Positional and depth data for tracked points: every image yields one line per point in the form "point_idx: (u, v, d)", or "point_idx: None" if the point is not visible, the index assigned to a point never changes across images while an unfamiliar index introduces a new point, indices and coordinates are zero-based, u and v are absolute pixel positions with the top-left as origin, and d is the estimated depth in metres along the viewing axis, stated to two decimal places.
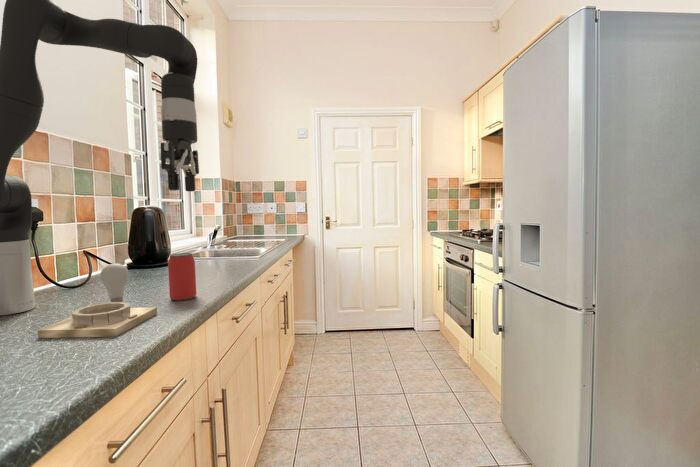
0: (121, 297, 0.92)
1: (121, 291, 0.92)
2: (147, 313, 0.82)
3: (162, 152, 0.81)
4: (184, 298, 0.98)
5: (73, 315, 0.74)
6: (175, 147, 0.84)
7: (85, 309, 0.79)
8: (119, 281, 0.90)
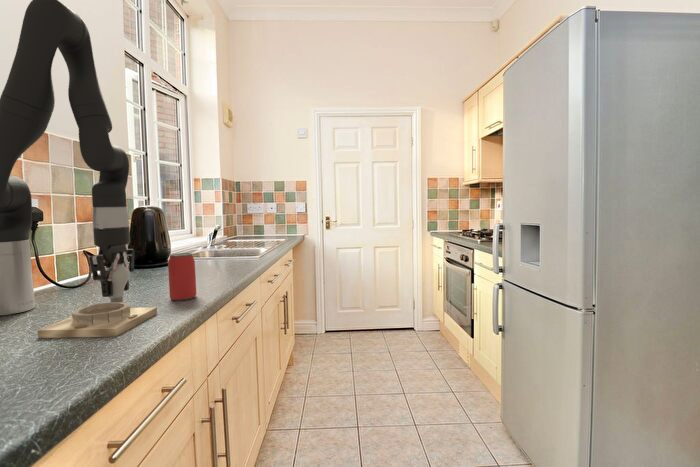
0: (121, 297, 0.92)
1: (121, 291, 0.92)
2: (147, 313, 0.82)
3: (92, 266, 0.85)
4: (184, 298, 0.98)
5: (73, 315, 0.74)
6: (105, 256, 0.88)
7: (85, 309, 0.79)
8: (119, 281, 0.90)
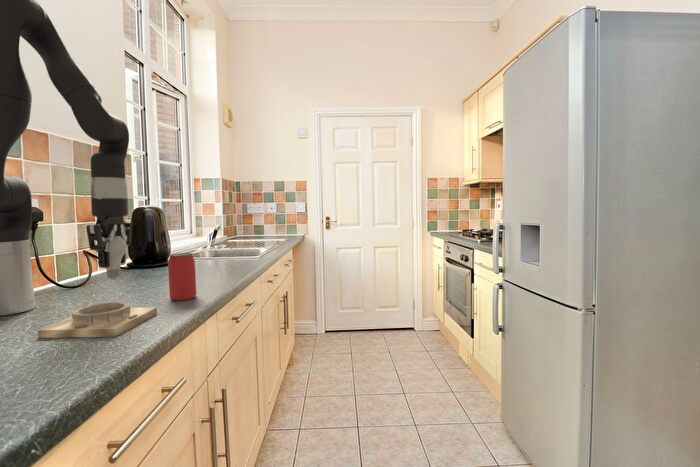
0: (118, 269, 0.92)
1: (117, 263, 0.91)
2: (147, 313, 0.82)
3: (89, 235, 0.85)
4: (184, 298, 0.98)
5: (73, 315, 0.74)
6: (102, 226, 0.87)
7: (85, 309, 0.79)
8: (116, 252, 0.90)
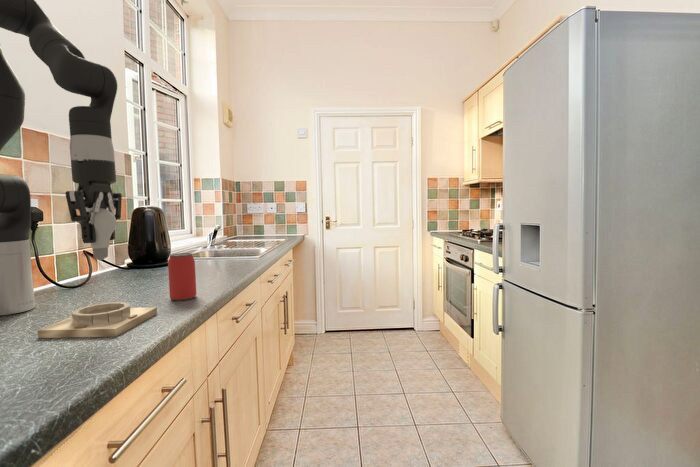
0: (106, 248, 0.78)
1: (106, 240, 0.77)
2: (147, 313, 0.82)
3: (69, 203, 0.71)
4: (184, 298, 0.98)
5: (73, 315, 0.74)
6: (85, 193, 0.73)
7: (85, 309, 0.79)
8: (104, 227, 0.76)
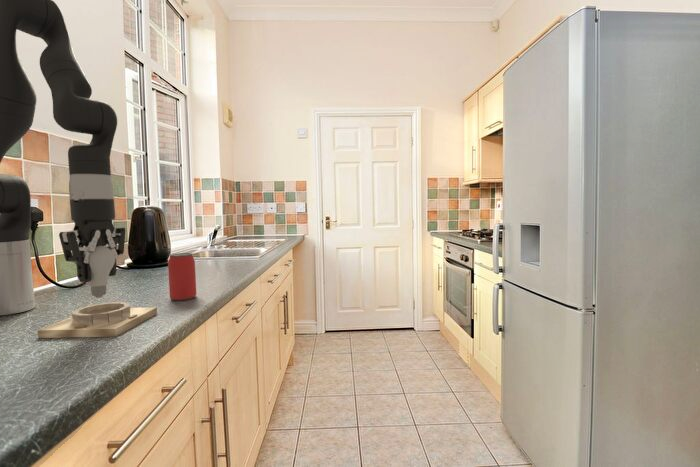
0: (104, 286, 0.77)
1: (103, 278, 0.77)
2: (147, 313, 0.82)
3: (63, 244, 0.71)
4: (184, 298, 0.98)
5: (73, 315, 0.74)
6: (80, 232, 0.73)
7: (85, 309, 0.79)
8: (100, 266, 0.75)
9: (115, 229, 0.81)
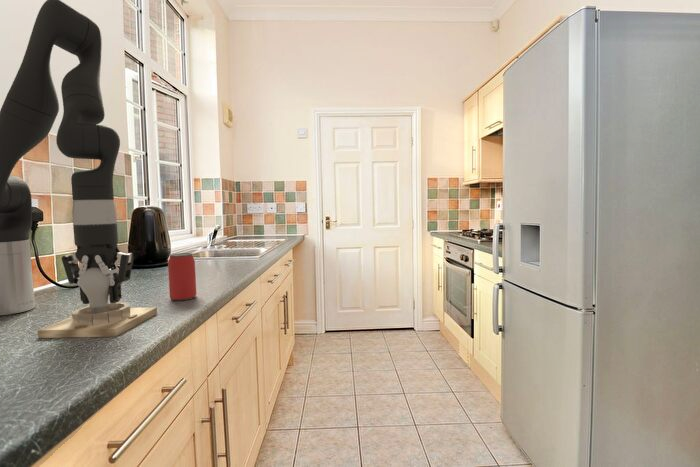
0: (95, 308, 0.77)
1: (92, 301, 0.76)
2: (147, 313, 0.82)
3: None
4: (184, 298, 0.98)
5: (73, 315, 0.74)
6: (75, 256, 0.77)
7: (85, 309, 0.79)
8: (82, 288, 0.75)
9: (119, 255, 0.77)
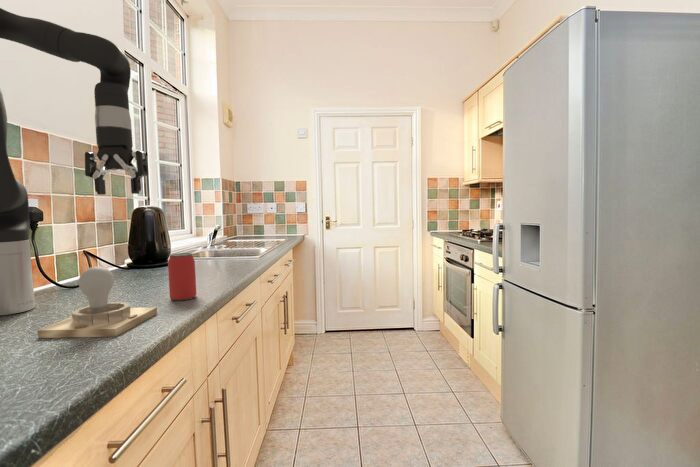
0: (95, 308, 0.76)
1: (91, 301, 0.76)
2: (147, 313, 0.82)
3: None
4: (184, 298, 0.98)
5: (73, 315, 0.74)
6: (97, 155, 0.91)
7: (85, 309, 0.79)
8: (81, 289, 0.75)
9: (134, 153, 0.91)
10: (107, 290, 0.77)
